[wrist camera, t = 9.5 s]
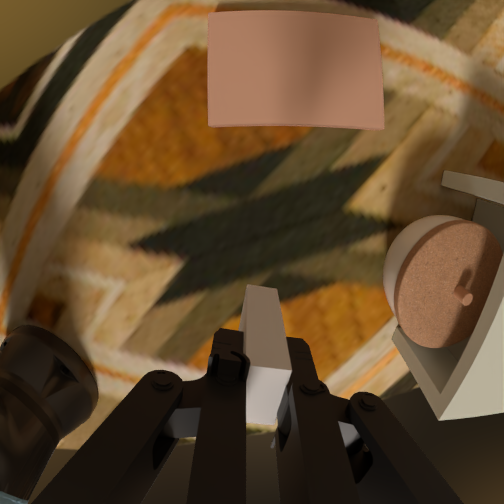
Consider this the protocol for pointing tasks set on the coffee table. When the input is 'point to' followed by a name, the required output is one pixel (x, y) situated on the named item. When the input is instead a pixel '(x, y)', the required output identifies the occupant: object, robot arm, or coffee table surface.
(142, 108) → the coffee table surface
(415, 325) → the lidded jar
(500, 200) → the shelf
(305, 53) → the book
